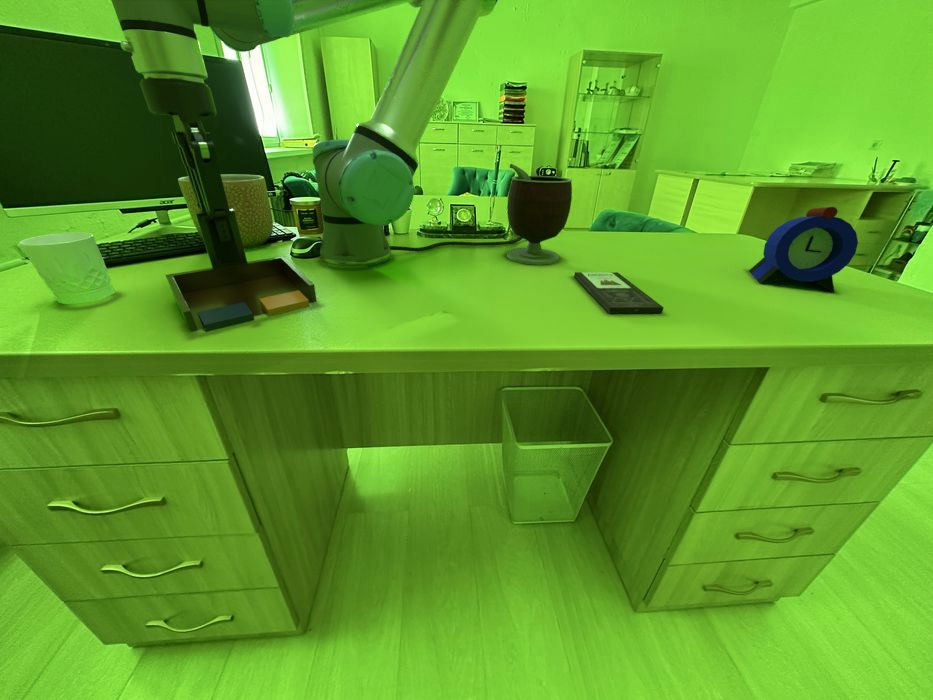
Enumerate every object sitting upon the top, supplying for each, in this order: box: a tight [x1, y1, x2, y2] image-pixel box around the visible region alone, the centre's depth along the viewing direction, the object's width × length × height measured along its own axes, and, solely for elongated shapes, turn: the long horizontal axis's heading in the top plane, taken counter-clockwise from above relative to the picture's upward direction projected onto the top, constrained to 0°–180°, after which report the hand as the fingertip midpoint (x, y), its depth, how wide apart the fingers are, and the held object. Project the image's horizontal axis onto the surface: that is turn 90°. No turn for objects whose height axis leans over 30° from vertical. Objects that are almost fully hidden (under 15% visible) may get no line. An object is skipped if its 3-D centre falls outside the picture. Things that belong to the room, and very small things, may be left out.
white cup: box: [18, 231, 116, 305], centre depth 57 cm, size 8×8×10 cm
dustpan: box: [165, 209, 318, 333], centre depth 55 cm, size 17×13×12 cm
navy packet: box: [197, 302, 255, 333], centre depth 52 cm, size 6×4×1 cm, turn 131°
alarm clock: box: [748, 206, 859, 293], centre depth 73 cm, size 12×12×15 cm
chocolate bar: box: [573, 271, 664, 314], centre depth 68 cm, size 9×1×18 cm
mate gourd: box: [506, 163, 573, 266], centre depth 83 cm, size 16×14×20 cm
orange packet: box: [259, 290, 310, 317], centre depth 57 cm, size 6×4×1 cm, turn 131°
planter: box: [177, 173, 274, 250], centre depth 88 cm, size 17×17×15 cm
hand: (228, 259), depth 59 cm, fingers closed on dustpan, 2 cm apart
